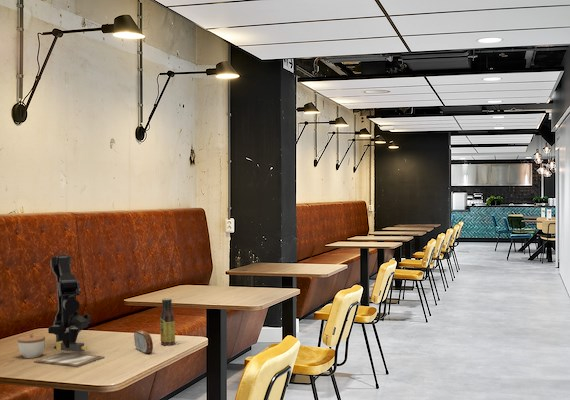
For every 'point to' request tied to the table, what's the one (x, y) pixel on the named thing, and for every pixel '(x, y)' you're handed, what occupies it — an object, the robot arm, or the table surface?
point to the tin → (143, 341)
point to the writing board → (69, 359)
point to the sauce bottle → (167, 323)
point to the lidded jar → (31, 345)
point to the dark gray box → (71, 346)
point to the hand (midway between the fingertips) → (70, 347)
